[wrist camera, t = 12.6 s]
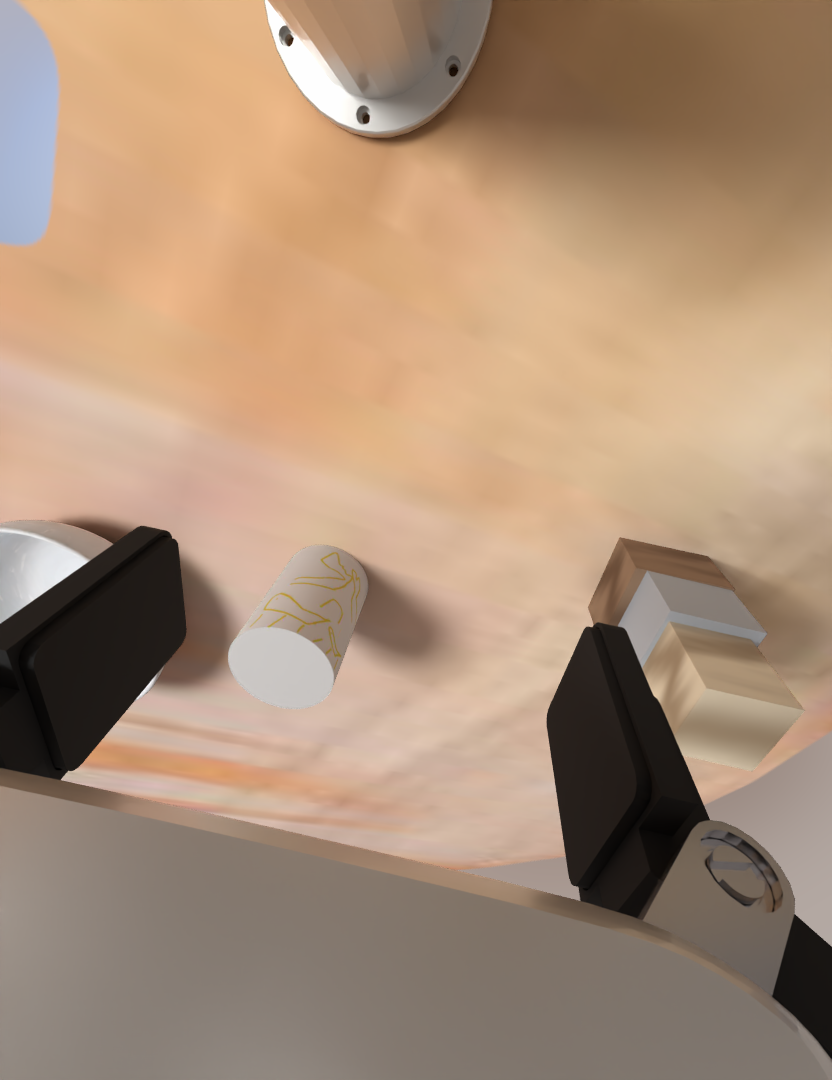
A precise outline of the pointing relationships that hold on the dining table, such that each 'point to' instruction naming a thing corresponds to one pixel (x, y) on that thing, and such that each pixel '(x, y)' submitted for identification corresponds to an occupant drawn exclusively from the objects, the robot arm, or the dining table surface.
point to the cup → (301, 629)
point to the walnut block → (631, 569)
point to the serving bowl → (43, 562)
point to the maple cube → (719, 695)
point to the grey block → (684, 611)
